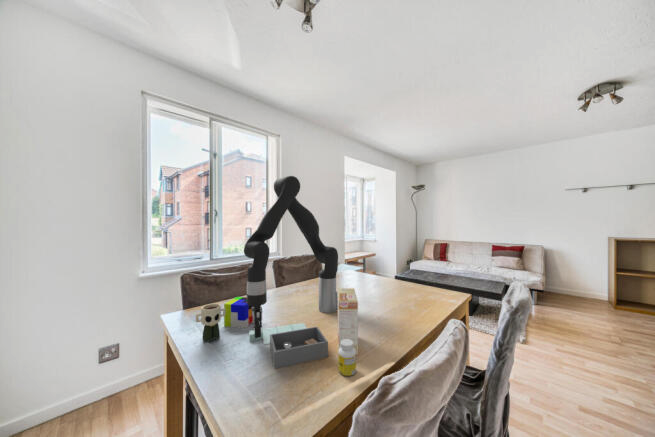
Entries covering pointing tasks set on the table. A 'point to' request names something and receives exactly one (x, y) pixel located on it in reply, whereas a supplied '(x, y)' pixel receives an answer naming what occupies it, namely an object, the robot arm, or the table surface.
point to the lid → (275, 331)
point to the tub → (297, 347)
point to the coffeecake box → (347, 316)
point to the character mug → (210, 320)
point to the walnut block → (310, 342)
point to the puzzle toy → (238, 313)
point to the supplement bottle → (347, 358)
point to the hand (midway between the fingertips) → (257, 332)
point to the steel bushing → (287, 345)
